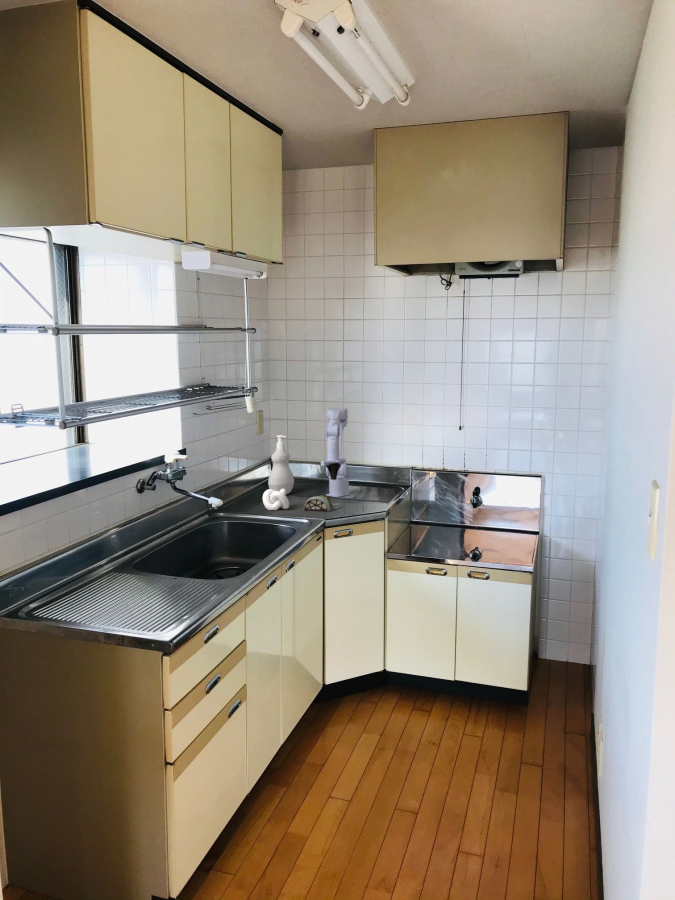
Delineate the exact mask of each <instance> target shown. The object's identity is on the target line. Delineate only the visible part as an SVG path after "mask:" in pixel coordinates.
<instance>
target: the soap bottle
mask: <svg viewBox="0 0 675 900" xmlns="http://www.w3.org/2000/svg"><path fill="white" fill-rule="evenodd" d="M275 437H276V438H277V442H276V448H275V451H274V452H273V453H272V455H271V461H272V469H271V470H270V474H269V475H268V481H267V484H268V488H269V489H273V490H275V491H280V490H281V489H285V490H286V495H288V494H290V493H291V492H292V491H293V488H294V483H295V478H294V475H293V472H292V469H291V468H290V466H289V462H290V457H291V456H290V454H289V452H288V451H286V449H285V442H284V441H283V438H284V439H285V438H288V437H287V436H286V435H283V434H278V435H276V436H275Z"/></svg>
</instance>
